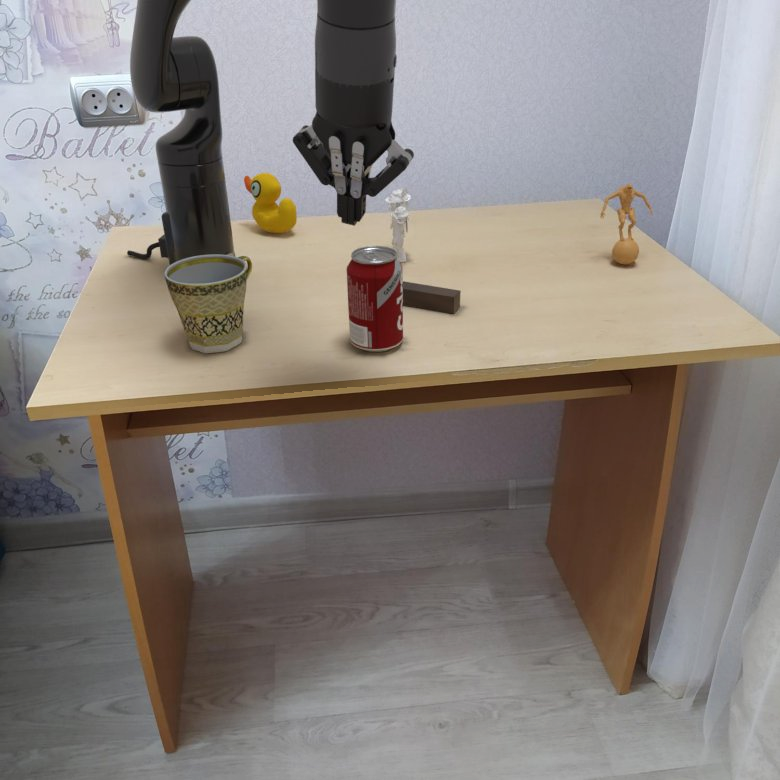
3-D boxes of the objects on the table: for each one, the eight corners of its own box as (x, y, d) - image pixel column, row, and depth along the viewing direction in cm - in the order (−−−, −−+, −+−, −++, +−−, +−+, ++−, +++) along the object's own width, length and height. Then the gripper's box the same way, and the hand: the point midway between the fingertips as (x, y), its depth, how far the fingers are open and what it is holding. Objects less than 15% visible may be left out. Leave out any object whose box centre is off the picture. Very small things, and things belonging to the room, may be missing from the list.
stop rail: (460, 307, 107) (460, 290, 106) (453, 314, 105) (454, 297, 104) (382, 293, 111) (381, 277, 110) (374, 300, 109) (374, 283, 108)
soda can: (364, 360, 94) (360, 268, 88) (341, 338, 99) (336, 250, 93) (412, 347, 97) (412, 257, 91) (388, 327, 102) (386, 240, 96)
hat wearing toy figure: (413, 267, 120) (413, 191, 114) (388, 268, 120) (386, 192, 114) (408, 247, 128) (407, 175, 122) (384, 248, 127) (383, 176, 121)
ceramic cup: (218, 367, 93) (206, 290, 88) (159, 348, 98) (145, 274, 93) (285, 326, 103) (279, 255, 97) (229, 310, 107) (220, 242, 102)
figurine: (603, 270, 118) (613, 192, 112) (588, 256, 123) (597, 181, 117) (654, 266, 119) (667, 189, 113) (638, 252, 124) (649, 178, 118)
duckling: (239, 228, 137) (232, 172, 132) (261, 221, 141) (255, 165, 136) (283, 241, 131) (278, 183, 126) (305, 233, 135) (301, 176, 129)
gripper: (273, 66, 71) (281, 224, 83) (409, 95, 68) (397, 254, 81) (305, 36, 76) (309, 190, 88) (433, 62, 73) (418, 216, 86)
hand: (351, 220), depth 85 cm, fingers closed
